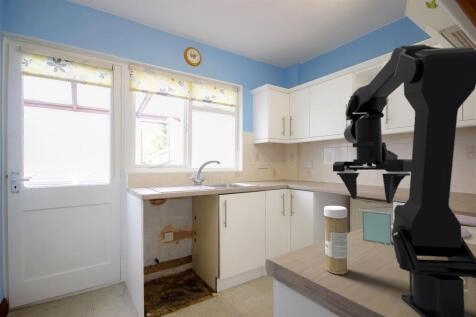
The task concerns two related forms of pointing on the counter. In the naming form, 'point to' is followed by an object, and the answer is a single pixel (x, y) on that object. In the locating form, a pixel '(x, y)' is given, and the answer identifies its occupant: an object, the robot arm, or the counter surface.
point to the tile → (377, 226)
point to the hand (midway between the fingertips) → (370, 200)
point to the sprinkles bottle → (336, 239)
